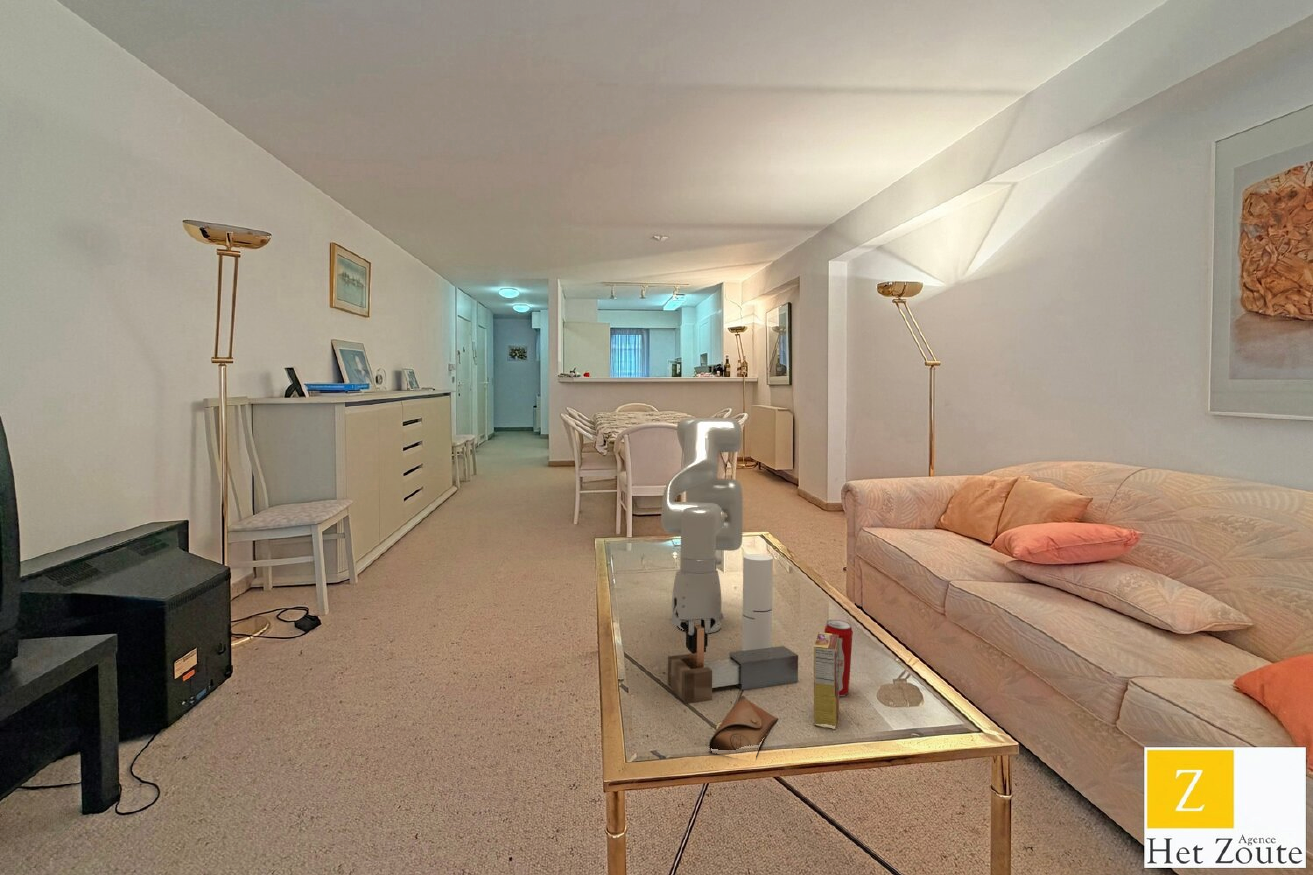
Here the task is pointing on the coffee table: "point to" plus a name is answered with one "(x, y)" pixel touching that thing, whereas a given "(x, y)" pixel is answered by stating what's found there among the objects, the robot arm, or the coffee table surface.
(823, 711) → the candy box
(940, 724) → the coffee table surface
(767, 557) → the cylindrical container
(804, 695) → the coffee table surface
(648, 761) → the coffee table surface
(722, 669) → the tan wooden slab
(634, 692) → the coffee table surface
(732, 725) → the sunglasses case
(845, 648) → the beverage can
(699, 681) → the socket
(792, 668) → the grey metal block
